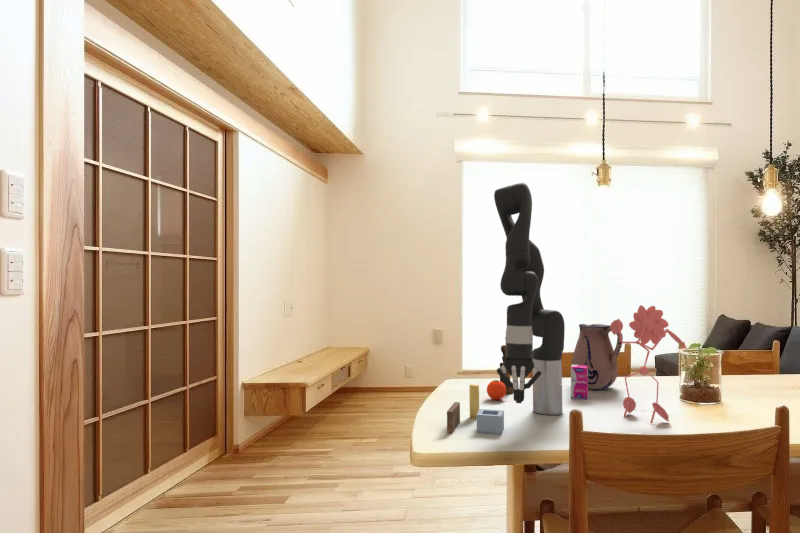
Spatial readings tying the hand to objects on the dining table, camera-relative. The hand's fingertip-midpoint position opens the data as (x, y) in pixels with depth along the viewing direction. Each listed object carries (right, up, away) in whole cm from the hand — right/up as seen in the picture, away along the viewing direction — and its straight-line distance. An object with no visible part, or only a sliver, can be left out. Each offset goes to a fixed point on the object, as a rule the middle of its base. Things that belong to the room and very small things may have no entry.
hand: (518, 402), depth 150 cm
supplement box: (+32, -10, +44) cm, 55 cm away
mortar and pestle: (+7, -10, +53) cm, 54 cm away
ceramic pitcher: (+45, -10, +60) cm, 75 cm away
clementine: (+1, -10, +41) cm, 42 cm away
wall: (-18, -9, +5) cm, 20 cm away
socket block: (-8, -8, +2) cm, 12 cm away
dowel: (-10, -9, +16) cm, 21 cm away
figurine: (+45, -9, +15) cm, 48 cm away
